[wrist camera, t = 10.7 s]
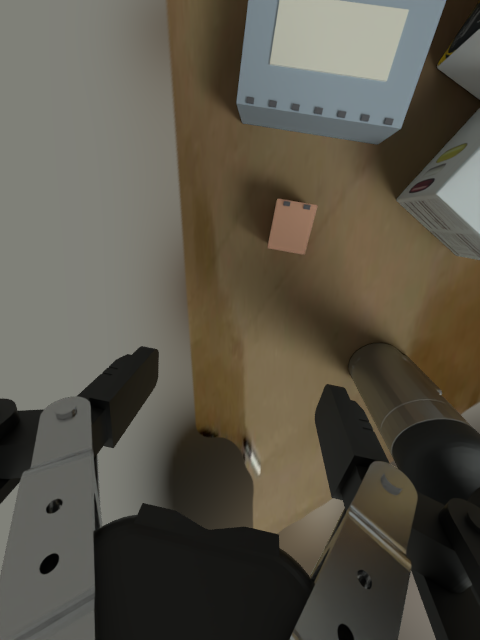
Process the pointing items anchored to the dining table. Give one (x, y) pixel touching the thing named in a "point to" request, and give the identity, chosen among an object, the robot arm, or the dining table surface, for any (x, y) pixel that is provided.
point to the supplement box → (451, 192)
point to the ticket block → (334, 64)
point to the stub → (291, 226)
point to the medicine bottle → (465, 55)
